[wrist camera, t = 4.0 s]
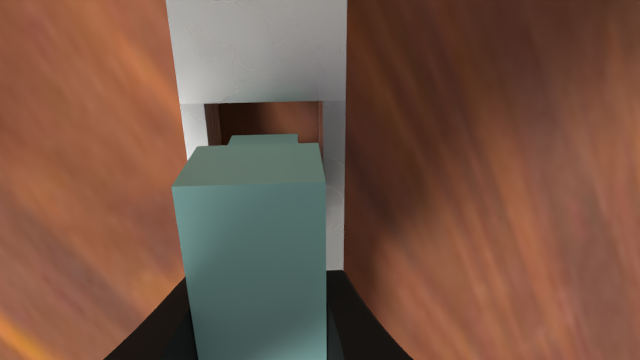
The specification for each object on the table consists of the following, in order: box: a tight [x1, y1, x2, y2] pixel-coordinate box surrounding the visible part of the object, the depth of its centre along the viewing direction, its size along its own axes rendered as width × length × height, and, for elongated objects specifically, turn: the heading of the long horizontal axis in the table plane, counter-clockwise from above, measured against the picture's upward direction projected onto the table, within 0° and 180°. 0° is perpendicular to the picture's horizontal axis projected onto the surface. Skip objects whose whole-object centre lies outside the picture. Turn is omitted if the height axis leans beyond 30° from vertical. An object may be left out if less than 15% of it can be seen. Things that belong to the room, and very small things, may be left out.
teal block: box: [172, 134, 327, 360], centre depth 13 cm, size 3×9×5 cm, turn 1°
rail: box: [166, 0, 347, 270], centre depth 16 cm, size 5×24×2 cm, turn 1°
